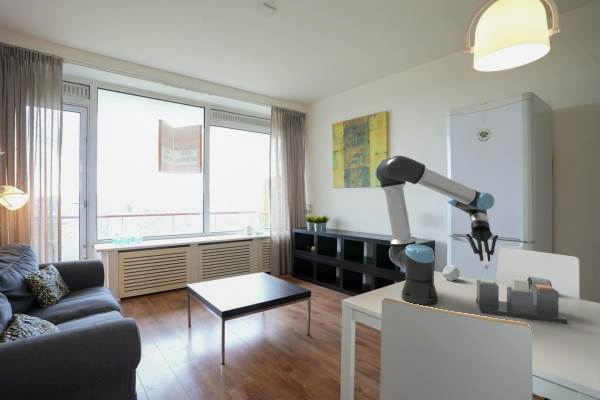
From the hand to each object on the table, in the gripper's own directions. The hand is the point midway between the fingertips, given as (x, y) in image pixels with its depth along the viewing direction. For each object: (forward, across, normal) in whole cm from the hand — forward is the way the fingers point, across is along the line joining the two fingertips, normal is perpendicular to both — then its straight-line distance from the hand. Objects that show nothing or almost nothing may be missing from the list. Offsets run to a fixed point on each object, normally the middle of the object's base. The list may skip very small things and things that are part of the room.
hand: (486, 266), depth 125 cm
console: (+16, -9, -6) cm, 19 cm away
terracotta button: (+12, -19, -7) cm, 23 cm away
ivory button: (+14, -9, 0) cm, 17 cm away
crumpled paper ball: (-12, +11, -35) cm, 39 cm away
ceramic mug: (-8, -25, -30) cm, 40 cm away
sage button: (+13, 0, -6) cm, 14 cm away
